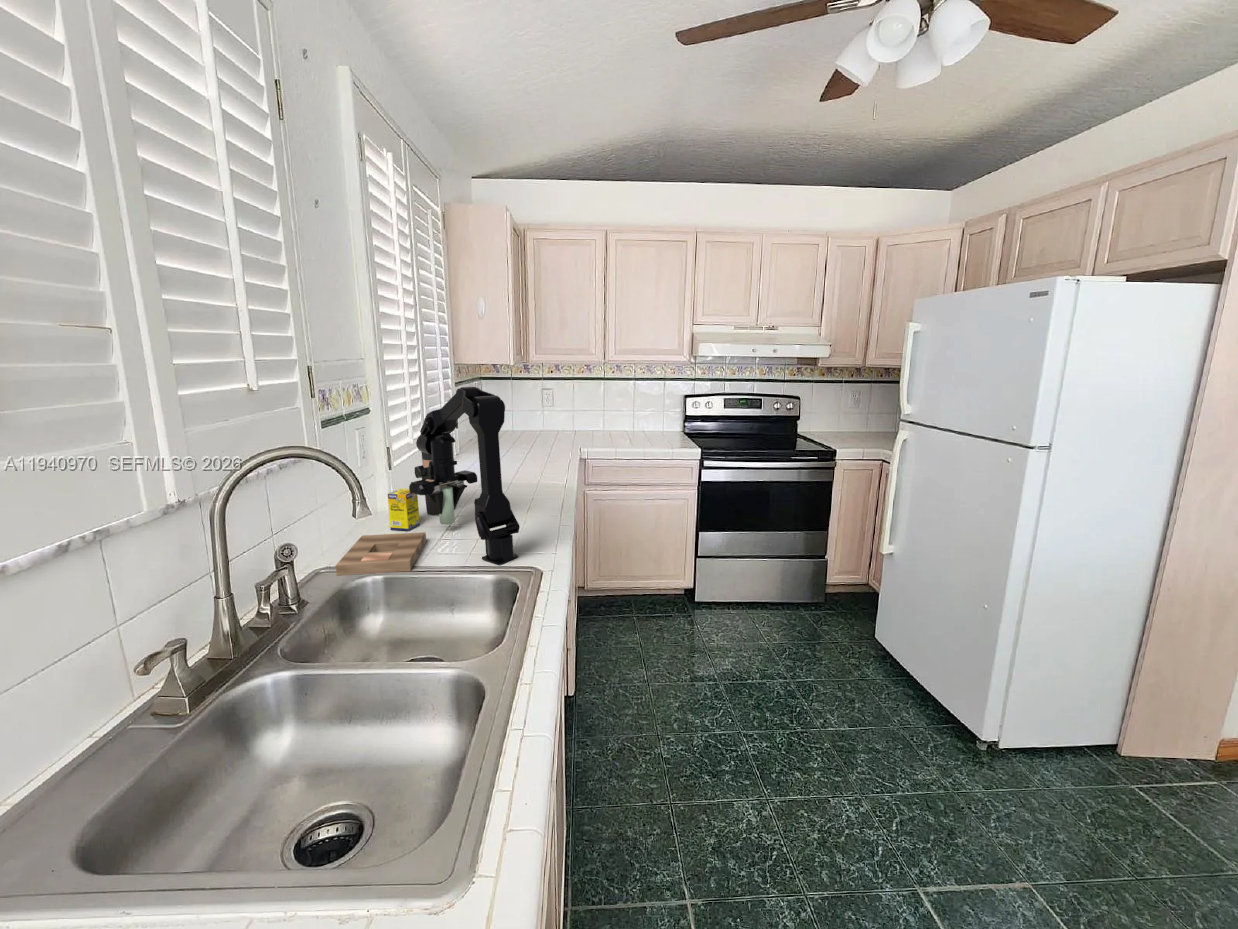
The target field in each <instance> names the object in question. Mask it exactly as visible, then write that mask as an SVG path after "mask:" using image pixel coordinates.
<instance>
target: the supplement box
mask: <svg viewBox="0 0 1238 929" xmlns="http://www.w3.org/2000/svg"><path fill="white" fill-rule="evenodd" d="M418 496H419V495H418V494H414V493H410V491H409V488H398V489H396V490H393V491H391V492H388V493H387V504H388V515H389V525H390V526H389V527H390V530H391V531H399V532H400V531H401V532H410V531H411V530H414V529H415V528H416V527H419V526H420V525H421V524H420V523H421V522H420V512H419V510H420V509H419V508H420V507H419V500H418V499H419V498H418Z"/></svg>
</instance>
